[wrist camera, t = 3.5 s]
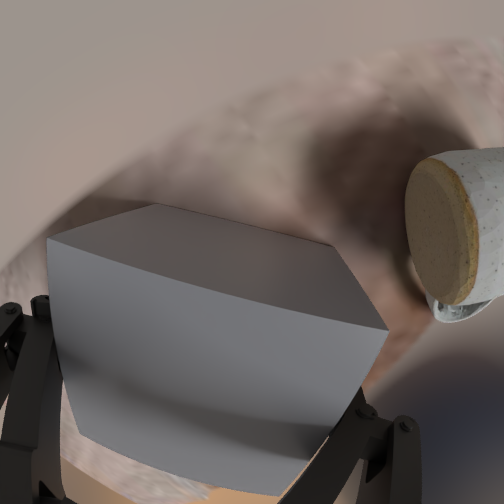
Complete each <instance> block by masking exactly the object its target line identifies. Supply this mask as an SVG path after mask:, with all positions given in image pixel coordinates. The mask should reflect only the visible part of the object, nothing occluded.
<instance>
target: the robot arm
mask: <svg viewBox="0 0 504 504" xmlns="http://www.w3.org/2000/svg"><path fill="white" fill-rule="evenodd" d="M30 302H31V309H32V316H29V315H25V314H23V312H22V307H21V305H20V304H18V303H14V302H9V303H6V304H4V305H2V306H1V307H0V409H1V407H2V405H3V403H4V401H5V400H6V398H7V396H8V394H9V396H8V400H7V405H6V410H5V417H4V422H3V428H2V435H1V440H0V504H77V503H75V502H74V501H72V500H70V499H69V498H67V497H66V495H65V491H64V489H63V485H62V480H61V466H60V411H61V395H62V384H63V376H62V372H61V368H60V363H59V358H58V354H57V348H56V343H55V337H54V331H53V324H52V317H51V309H50V300H49V296H48V295H39V296H36V297H34V298H32V300H31V301H30ZM6 342H7V346H6V347H5V348H4V346H5V343H6ZM359 458H361V459H364V464H363V470H362V476H361V481H360V486H359V492H358V496H357V501H356V504H421V499H422V497H421V496H422V464H421V444H420V430H419V426H418V424H417V422H416V421H415V420H414V419H412V418H411V417H409V416H405V415H401V416H398V417H397V418H395V420H394V421H393V422H392V421H389V420H386V419H382V418H380V417H378V414H377V412H376V410H375V409H374V408H373V407H372V406H370V405H369V404H366V400H365V397H364V394H363V390H362V387H361V386H360V388H359V389H358V391H357V393H356V394H355V396H354V398H353V399H352V401H351V402H350V404H349V406H348V407H347V409H346V410H345V412H344V413H343V415H342V416H341V418H340V419H339V421H338V422H337V424H336V425H335V427H334V428H333V430H332V431H331V433H330V434H329V438H328V440H327V442H326V443H325V444H324V446H323V447H322V448H321V449H320V451H319V453H318V454H317V455H316V457H315V458H314V459H313V461H312V462H311V463H310V465H309V466H308V467H307V469H306V470H305V471H304V472H303V474H302V475H301V476H300V478H299V479H298V480H297V481H296V482H295V484H294V485H293V486H292V487H291V488H290V490H289V491H288V492H287V493H286V494H285V495H284V497H283V498H282V499H281V500H280V501H279V502H278V503H277V504H333V503H334V501H335V500H336V498H337V496H338V495H339V493H340V492H341V490H342V488H343V487H344V485H345V483H346V481H347V480H348V478H349V476H350V474H351V473H352V471H353V469H354V467H355V465H356V463H357V461H358V460H359Z"/></svg>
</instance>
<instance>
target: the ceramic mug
mask: <svg viewBox="0 0 504 504" xmlns="http://www.w3.org/2000/svg"><path fill="white" fill-rule="evenodd" d="M405 221H406V231H407V237H408V243H409V248H410V252H411V256H412V259H413V262H414V265H415V268H416V272H417V274H418V276H419V278H420V280H421V282H422V284H423V285H424V287H425V289H426V300H427V302H428V305H429V307H430V310H431V312H432V314H433V315H434V317H435V318H436V319H437V320H438V321H440V322H443V323H452V322H458V321H461V320H464V319H467V318H469V317H471V316H473V315H475V314H476V313H478V312H480V311H481V310H483V309H484V308H485V307H486V306H488V305H489V304H490V303H491V302H492V301H493V300H494V299H495V298H496V297H498V296H501V295H504V147H502V148H484V149H471V150H455V151H446V152H443V153H440V154H437V155H433V156H430V157H428V158H425V159H424V160H422V161H421V162H419V163H418V164H417V165H416V167H415V168H414V170H413V171H412V173H411V176H410V178H409V181H408V184H407V188H406V194H405ZM438 301H439V302H440V303H438Z"/></svg>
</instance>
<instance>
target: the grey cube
mask: <svg viewBox="0 0 504 504" xmlns="http://www.w3.org/2000/svg"><path fill="white" fill-rule="evenodd" d="M47 275H48V289H49V300H50V309H51V317H52V324H53V331H54V337H55V343H56V348H57V354H58V358H59V363H60V368H61V372H62V376H63V380H64V384H65V388H66V392H67V395H68V399H69V402H70V406H71V409H72V412H73V415H74V418H75V421H76V424H77V427H78V430H79V433H80V434H81V435H83V436H85V437H87V438H89V439H91V440H92V441H94V442H96V443H98V444H100V445H102V446H104V447H106V448H108V449H111V450H113V451H115V452H117V453H119V454H121V455H124V456H126V457H128V458H131V459H133V460H136V461H138V462H140V463H143V464H146V465H148V466H151V467H154V468H156V469H159V470H162V471H165V472H168V473H171V474H174V475H177V476H180V477H184V478H187V479H190V480H194V481H198V482H201V483H205V484H209V485H214V486H218V487H222V488H227V489H232V490H237V491H243V492H249V493H256V494H262V495H270V496H280V495H281V494H282V493H283V492H284V490H285V489H286V488H287V487H288V486H289V485H290V484H291V483H292V481H293V480H294V479H295V478H296V477H297V476H298V474H299V473H300V472H301V471H302V470H303V468H304V467H305V466H306V465H307V463H308V462H309V461H310V459H311V458H312V457H313V456H314V454H315V453H316V452H317V450H318V449H319V448H320V446H321V445H322V444H323V442H324V441H325V439H326V438H327V437H328V435H329V434H330V433H331V431H332V430H333V428H334V427H335V425H336V424H337V422H338V421H339V419H340V418H341V416H342V415H343V413H344V412H345V410H346V409H347V407H348V406H349V404H350V402H351V401H352V399H353V398H354V396H355V394H356V393H357V391H358V389H359V388H360V386H361V384H362V382H363V381H364V379H365V377H366V375H367V374H368V372H369V370H370V368H371V366H372V365H373V363H374V361H375V359H376V357H377V355H378V353H379V351H380V349H381V347H382V346H383V344H384V342H385V340H386V337H387V335H388V333H389V330H388V328H387V326H386V325H385V323H384V321H383V320H382V318H381V317H380V315H379V313H378V312H377V310H376V309H375V307H374V305H373V304H372V302H371V301H370V299H369V298H368V296H367V295H366V293H365V292H364V290H363V288H362V287H361V285H360V284H359V282H358V281H357V279H356V278H355V276H354V275H353V273H352V272H351V270H350V269H349V268H348V266H347V265H346V263H345V262H344V260H343V259H342V257H341V256H340V254H339V253H338V252H337V250H336V249H335V247H331V246H327V245H323V244H320V243H316V242H312V241H308V240H305V239H301V238H297V237H293V236H289V235H285V234H282V233H278V232H274V231H270V230H266V229H262V228H258V227H254V226H250V225H246V224H242V223H238V222H234V221H230V220H226V219H221V218H217V217H213V216H209V215H205V214H200V213H196V212H192V211H188V210H183V209H179V208H175V207H170V206H166V205H162V204H153V205H150V206H146V207H142V208H139V209H135V210H132V211H128V212H125V213H121V214H118V215H114V216H111V217H108V218H104V219H101V220H98V221H95V222H92V223H88V224H85V225H82V226H79V227H76V228H73V229H70V230H67V231H64V232H61V233H58V234H55V235H53V236H50V237H47Z"/></svg>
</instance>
